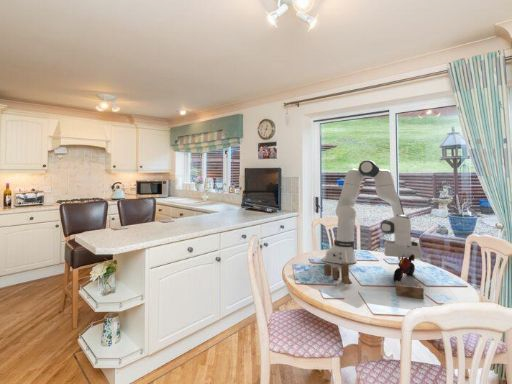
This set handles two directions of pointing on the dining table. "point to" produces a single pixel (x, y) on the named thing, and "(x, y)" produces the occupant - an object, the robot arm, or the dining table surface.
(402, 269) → the toy motorcycle
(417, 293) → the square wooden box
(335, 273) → the wooden block set
